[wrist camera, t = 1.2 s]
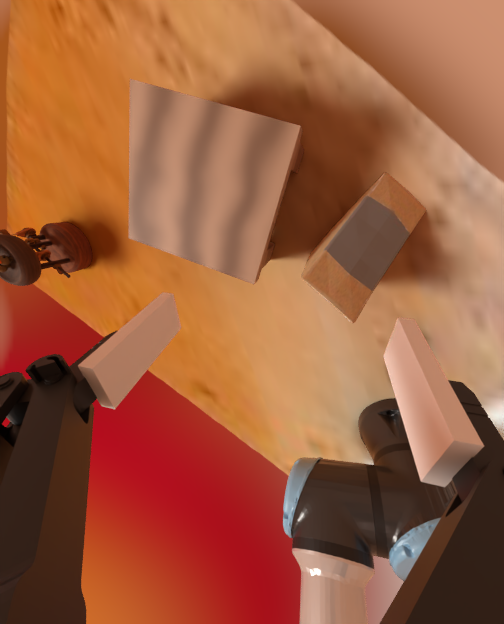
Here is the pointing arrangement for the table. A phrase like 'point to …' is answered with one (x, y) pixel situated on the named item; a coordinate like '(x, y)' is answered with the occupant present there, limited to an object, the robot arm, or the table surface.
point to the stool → (207, 178)
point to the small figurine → (43, 252)
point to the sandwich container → (362, 246)
